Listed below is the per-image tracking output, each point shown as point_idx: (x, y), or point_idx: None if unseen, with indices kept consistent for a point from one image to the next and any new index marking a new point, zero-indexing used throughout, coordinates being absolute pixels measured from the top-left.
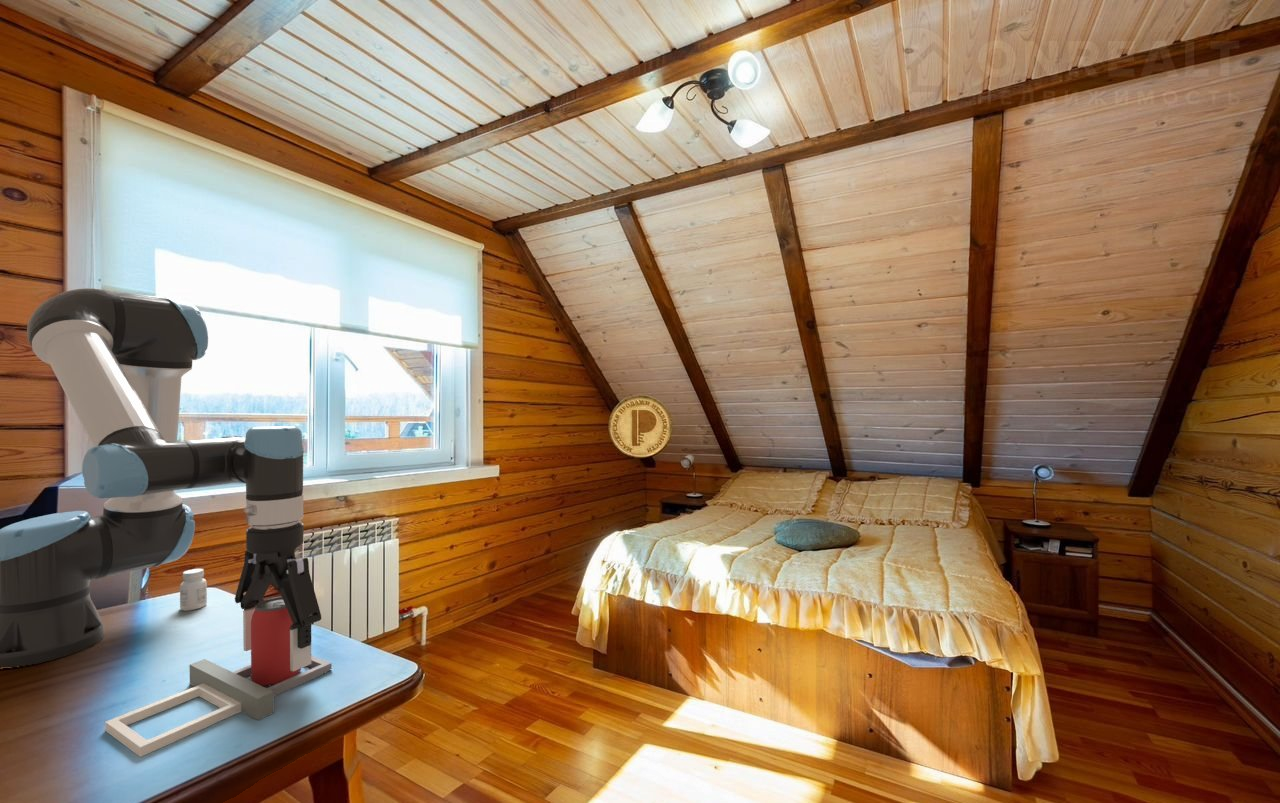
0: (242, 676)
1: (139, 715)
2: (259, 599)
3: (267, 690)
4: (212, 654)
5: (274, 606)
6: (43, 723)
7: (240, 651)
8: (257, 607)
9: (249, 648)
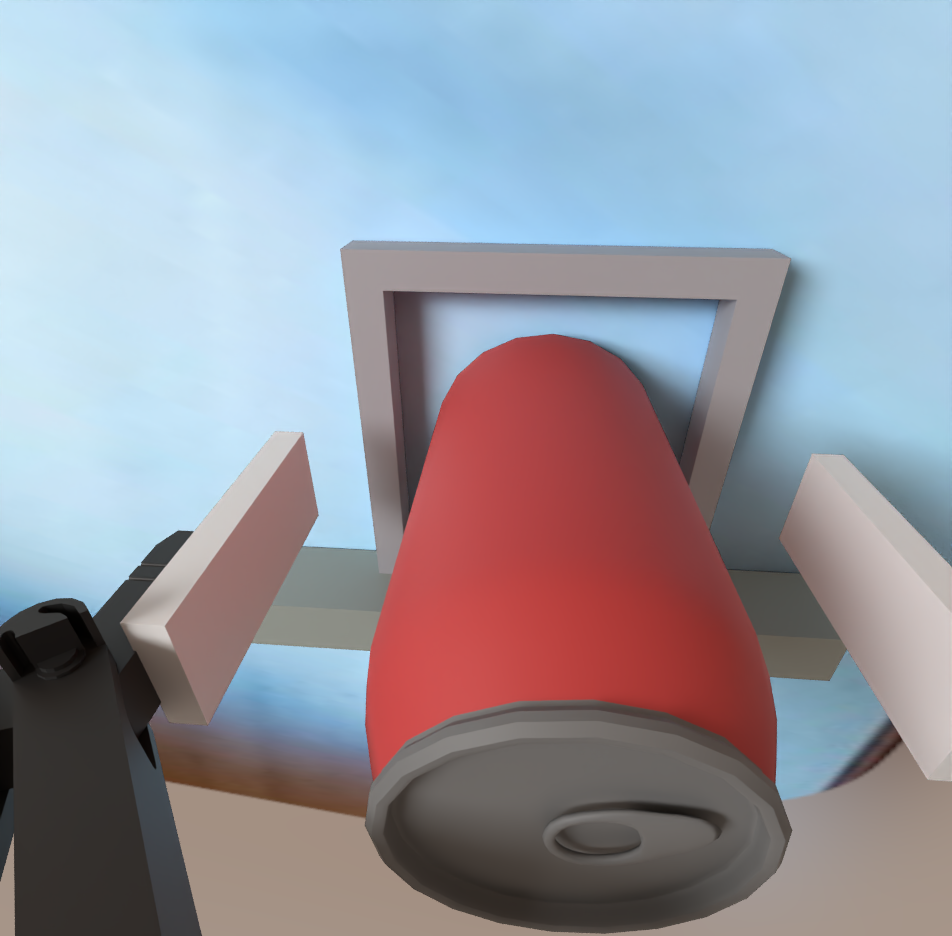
0: (405, 497)
1: None
2: (126, 721)
3: (812, 642)
4: (14, 433)
5: (611, 851)
6: (235, 768)
7: (64, 356)
8: (532, 925)
9: (311, 504)
